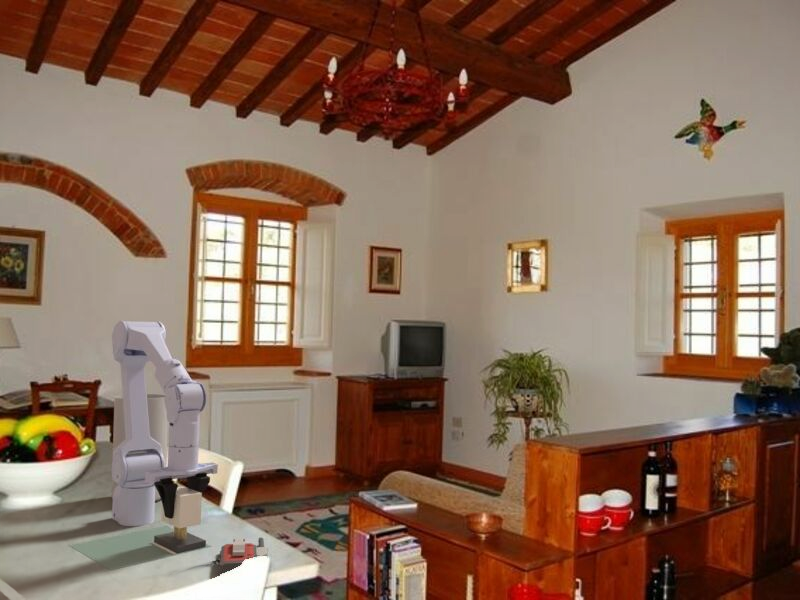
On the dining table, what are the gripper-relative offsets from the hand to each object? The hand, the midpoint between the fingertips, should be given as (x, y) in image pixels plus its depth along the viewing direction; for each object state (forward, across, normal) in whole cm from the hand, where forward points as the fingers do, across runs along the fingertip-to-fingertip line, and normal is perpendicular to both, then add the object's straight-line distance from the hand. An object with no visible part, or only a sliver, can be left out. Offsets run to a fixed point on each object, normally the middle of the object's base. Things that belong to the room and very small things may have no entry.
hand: (180, 515), depth 140 cm
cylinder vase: (+7, +12, +41) cm, 43 cm away
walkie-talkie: (+7, +6, -14) cm, 16 cm away
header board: (+7, -6, +4) cm, 10 cm away
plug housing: (+1, 0, 0) cm, 1 cm away
